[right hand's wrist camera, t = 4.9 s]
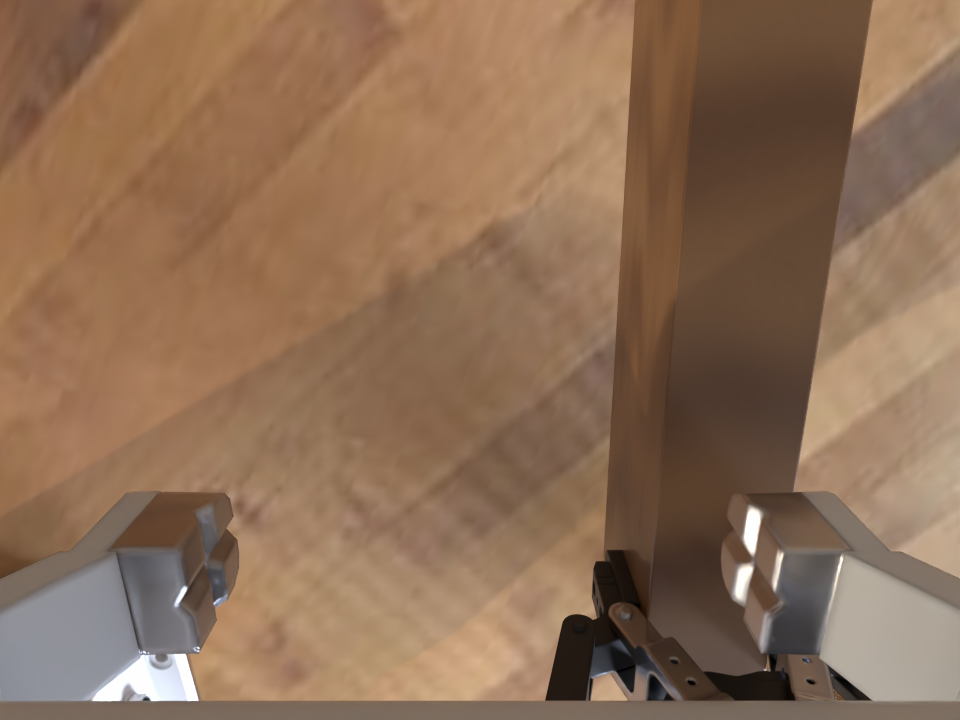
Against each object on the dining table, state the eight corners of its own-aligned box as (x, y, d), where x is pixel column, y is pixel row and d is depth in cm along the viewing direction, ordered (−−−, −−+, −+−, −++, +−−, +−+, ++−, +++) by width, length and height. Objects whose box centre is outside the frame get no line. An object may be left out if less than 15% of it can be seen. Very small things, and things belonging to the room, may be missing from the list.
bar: (636, -36, 24) (711, -126, 16) (760, -38, 24) (895, -130, 16) (601, 592, 32) (637, 730, 25) (691, 592, 32) (756, 729, 25)
